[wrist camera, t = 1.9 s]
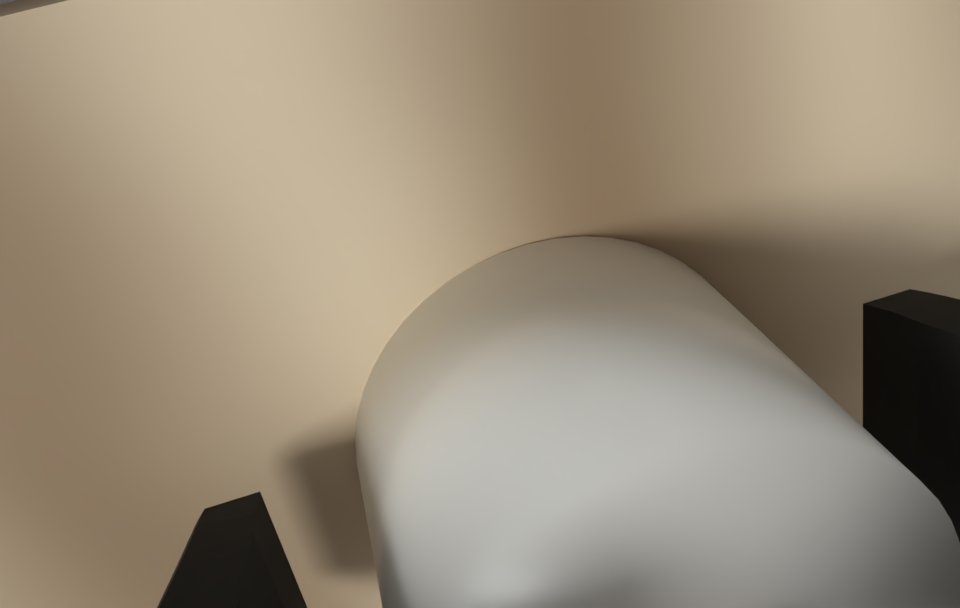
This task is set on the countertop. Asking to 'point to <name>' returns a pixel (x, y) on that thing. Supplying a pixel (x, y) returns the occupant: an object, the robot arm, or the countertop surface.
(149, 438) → the board
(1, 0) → the countertop surface
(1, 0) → the countertop surface
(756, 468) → the cap
